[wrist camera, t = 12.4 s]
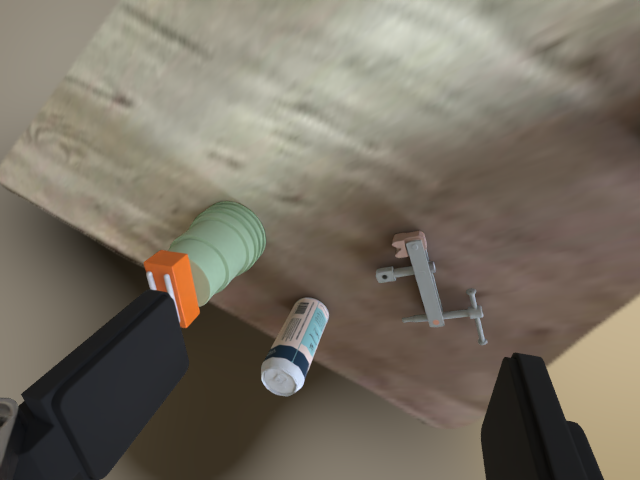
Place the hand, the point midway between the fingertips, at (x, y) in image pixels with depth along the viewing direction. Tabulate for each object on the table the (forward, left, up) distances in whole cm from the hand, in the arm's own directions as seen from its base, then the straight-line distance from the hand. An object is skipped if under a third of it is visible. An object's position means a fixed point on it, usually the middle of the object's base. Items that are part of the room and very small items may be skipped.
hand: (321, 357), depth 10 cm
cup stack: (+12, -19, -28) cm, 36 cm away
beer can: (+22, -9, -28) cm, 37 cm away
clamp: (+16, +5, -28) cm, 33 cm away
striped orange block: (+12, -19, -17) cm, 28 cm away
